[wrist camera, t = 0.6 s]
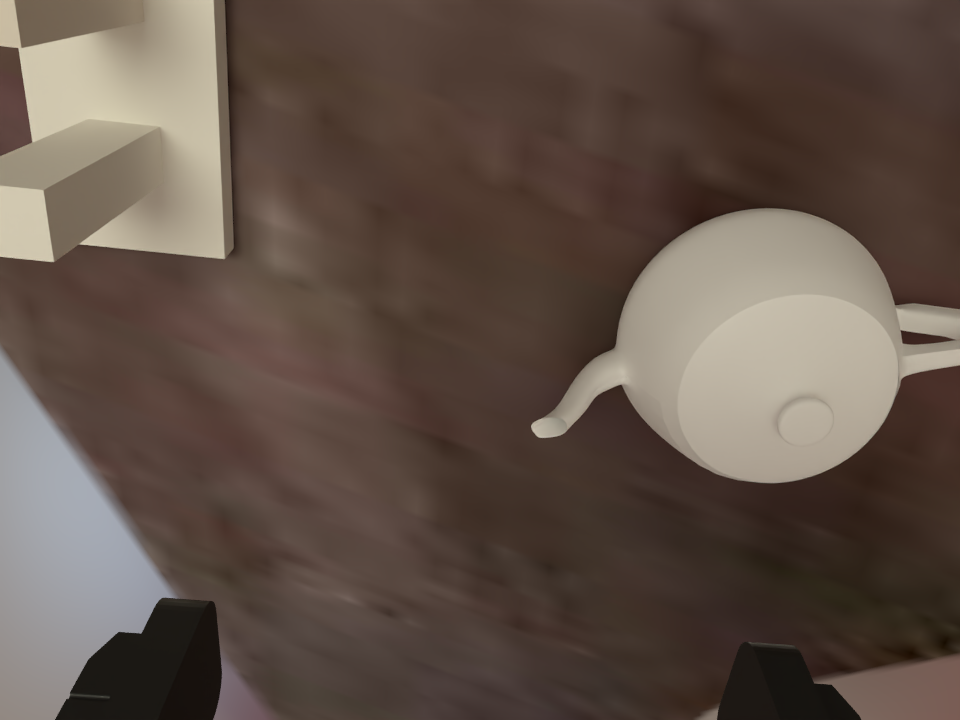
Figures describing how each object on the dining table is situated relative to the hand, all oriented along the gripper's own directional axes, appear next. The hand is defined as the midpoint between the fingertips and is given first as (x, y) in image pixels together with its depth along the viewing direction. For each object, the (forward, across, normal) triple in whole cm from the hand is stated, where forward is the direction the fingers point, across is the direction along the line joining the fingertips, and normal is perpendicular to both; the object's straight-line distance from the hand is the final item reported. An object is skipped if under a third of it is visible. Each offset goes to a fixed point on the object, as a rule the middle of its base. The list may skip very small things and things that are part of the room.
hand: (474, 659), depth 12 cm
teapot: (+28, -12, +6) cm, 31 cm away
